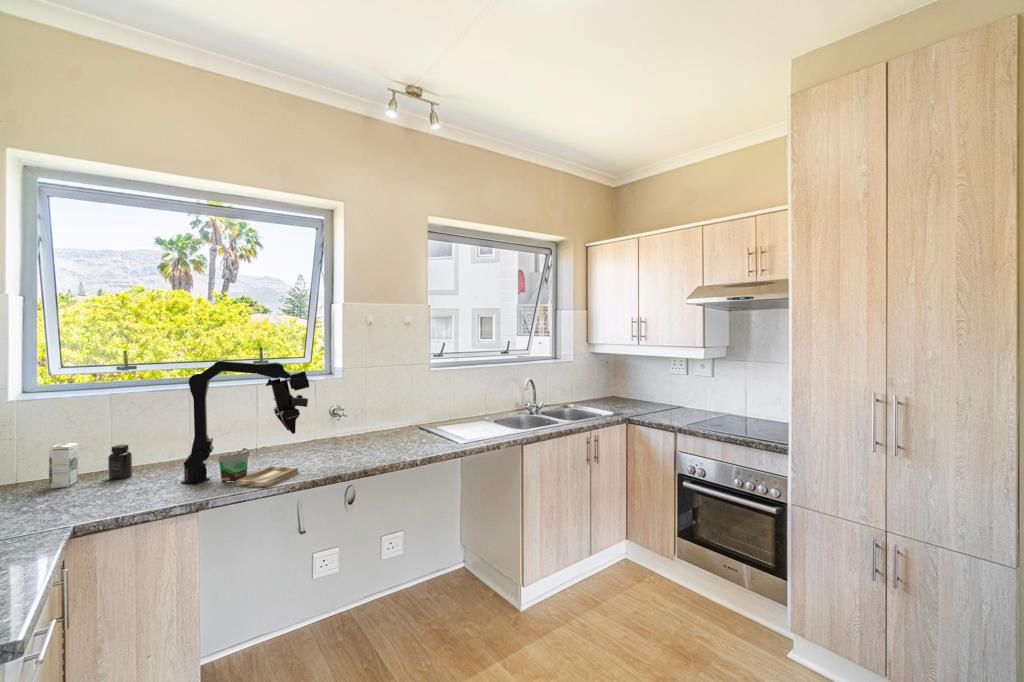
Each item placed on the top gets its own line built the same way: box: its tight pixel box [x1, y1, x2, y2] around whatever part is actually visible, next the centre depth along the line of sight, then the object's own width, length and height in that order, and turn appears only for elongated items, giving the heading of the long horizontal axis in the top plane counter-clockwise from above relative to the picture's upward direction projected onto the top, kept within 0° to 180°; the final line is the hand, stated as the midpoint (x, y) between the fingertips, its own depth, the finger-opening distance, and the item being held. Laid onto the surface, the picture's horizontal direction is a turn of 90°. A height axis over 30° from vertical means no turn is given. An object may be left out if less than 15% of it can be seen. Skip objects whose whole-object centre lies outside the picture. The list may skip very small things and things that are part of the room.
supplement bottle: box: [107, 444, 133, 481], centre depth 175 cm, size 7×7×12 cm
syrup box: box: [48, 442, 79, 489], centre depth 166 cm, size 6×6×14 cm
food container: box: [217, 447, 251, 483], centre depth 174 cm, size 12×6×10 cm, turn 168°
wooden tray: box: [235, 465, 299, 489], centre depth 174 cm, size 12×18×2 cm, turn 169°
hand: (291, 431), depth 185 cm, fingers open, 9 cm apart
